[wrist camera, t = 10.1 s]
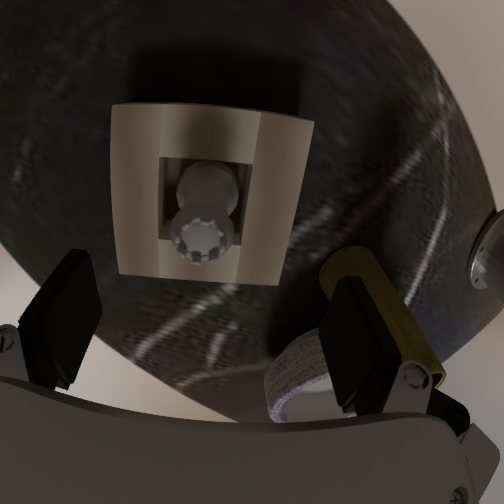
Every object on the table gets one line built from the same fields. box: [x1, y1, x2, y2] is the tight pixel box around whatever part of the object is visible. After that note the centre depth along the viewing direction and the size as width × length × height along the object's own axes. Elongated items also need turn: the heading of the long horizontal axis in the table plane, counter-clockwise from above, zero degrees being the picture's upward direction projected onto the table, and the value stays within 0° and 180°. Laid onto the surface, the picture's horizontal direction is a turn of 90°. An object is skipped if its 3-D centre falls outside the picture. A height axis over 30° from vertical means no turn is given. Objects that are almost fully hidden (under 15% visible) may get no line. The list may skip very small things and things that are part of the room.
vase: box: [319, 245, 446, 389], centre depth 20 cm, size 6×6×14 cm
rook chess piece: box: [169, 160, 240, 266], centre depth 16 cm, size 4×4×8 cm
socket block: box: [110, 102, 314, 286], centre depth 19 cm, size 12×12×4 cm
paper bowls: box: [264, 327, 356, 423], centre depth 29 cm, size 15×15×8 cm
